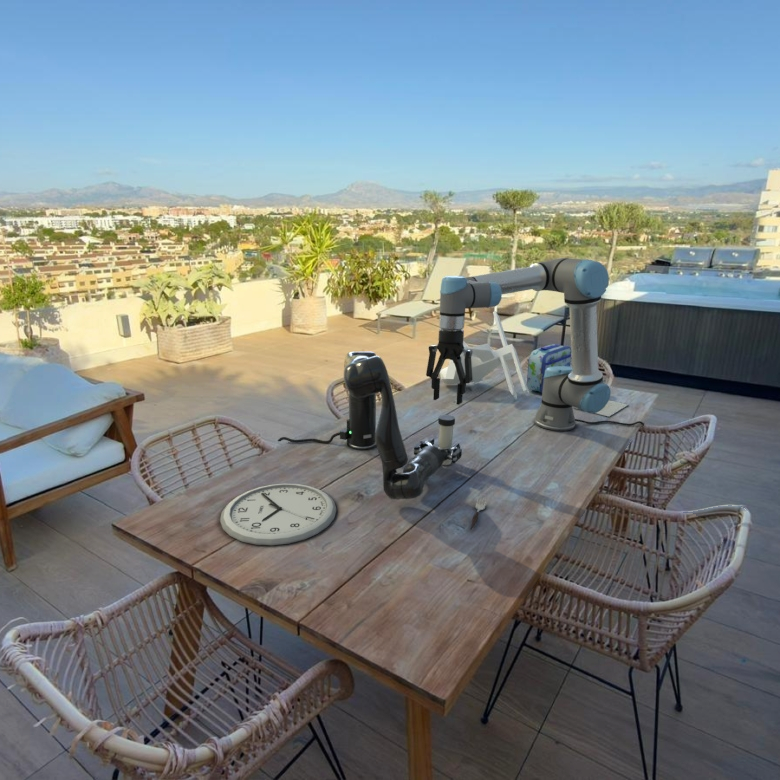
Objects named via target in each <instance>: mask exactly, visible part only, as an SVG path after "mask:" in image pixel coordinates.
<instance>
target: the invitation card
mask: <svg viewBox="0 0 780 780" xmlns="http://www.w3.org/2000/svg"><path fill="white" fill-rule="evenodd" d="M628 406H629V404H627V403H623V402H618V401H614V400H610V399H609V401H608V403H607V404H606V405H605V407H604V408H603V409H602V410H600V411H599V412H596V413H595V414H596V415H600V416H604V417H608V418H609V417H611V416H613V415H614V414H616V413H617V412H619V411H621V410H623V409H624V408H626V407H628ZM573 409H575V410H579V409H578V408H575V407H573Z"/></svg>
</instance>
